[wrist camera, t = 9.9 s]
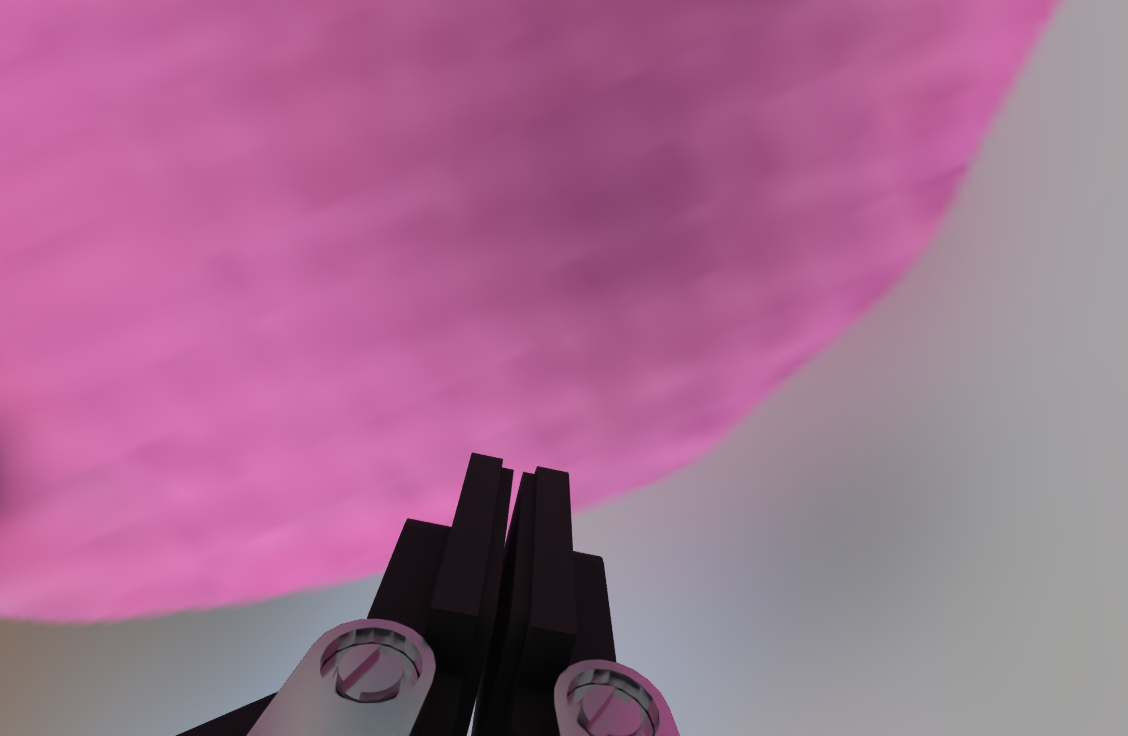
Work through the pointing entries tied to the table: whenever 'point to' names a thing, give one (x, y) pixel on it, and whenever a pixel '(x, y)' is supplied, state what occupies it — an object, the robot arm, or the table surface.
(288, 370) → the table surface
